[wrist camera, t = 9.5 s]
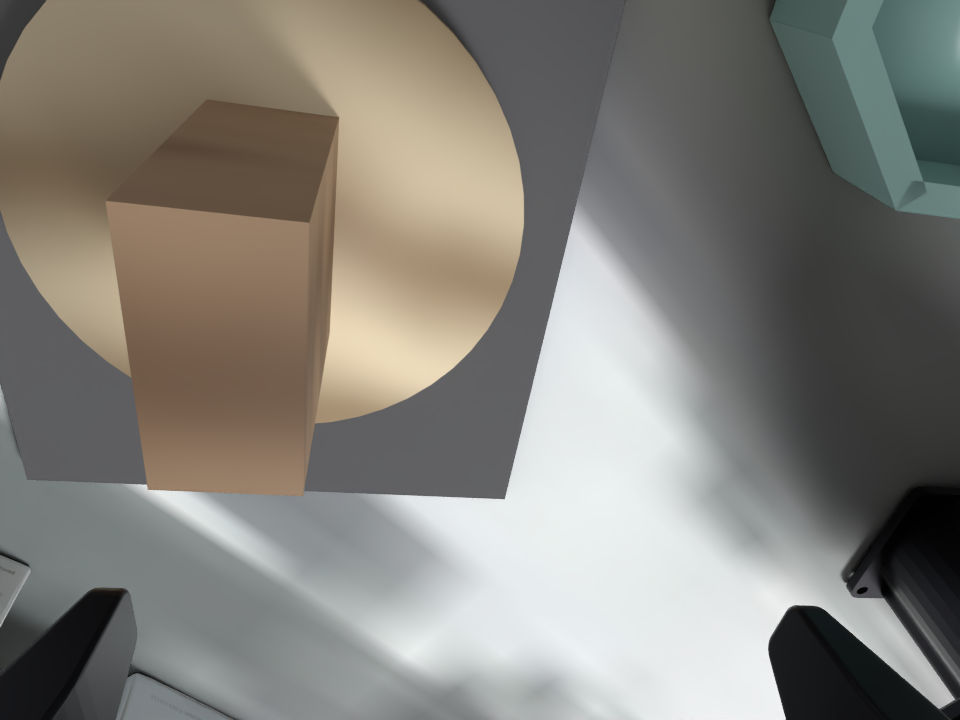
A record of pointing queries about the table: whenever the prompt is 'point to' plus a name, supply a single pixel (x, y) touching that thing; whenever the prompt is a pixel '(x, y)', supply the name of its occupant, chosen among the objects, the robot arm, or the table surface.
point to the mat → (434, 410)
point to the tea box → (160, 703)
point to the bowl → (882, 93)
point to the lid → (258, 213)
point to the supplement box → (10, 583)
